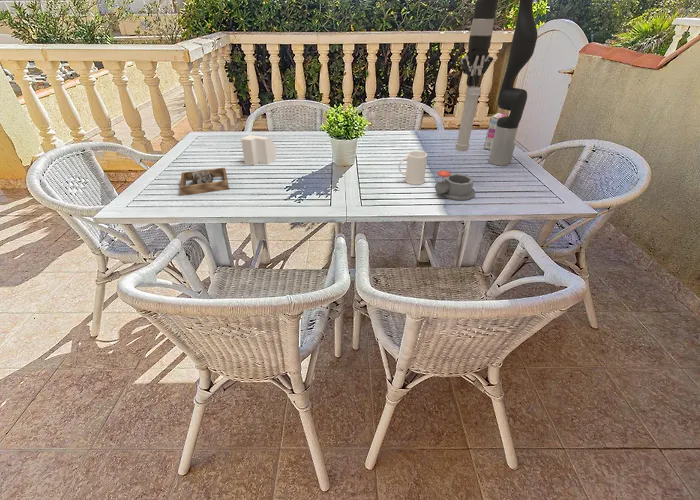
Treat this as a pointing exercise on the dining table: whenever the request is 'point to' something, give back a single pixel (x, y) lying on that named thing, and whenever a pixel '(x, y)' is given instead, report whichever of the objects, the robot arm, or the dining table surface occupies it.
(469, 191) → the valve socket
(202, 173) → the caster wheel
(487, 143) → the candy bar box
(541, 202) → the dining table surface
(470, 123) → the pipe
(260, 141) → the corner bracket
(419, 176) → the mug
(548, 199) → the dining table surface
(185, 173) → the parts corral
